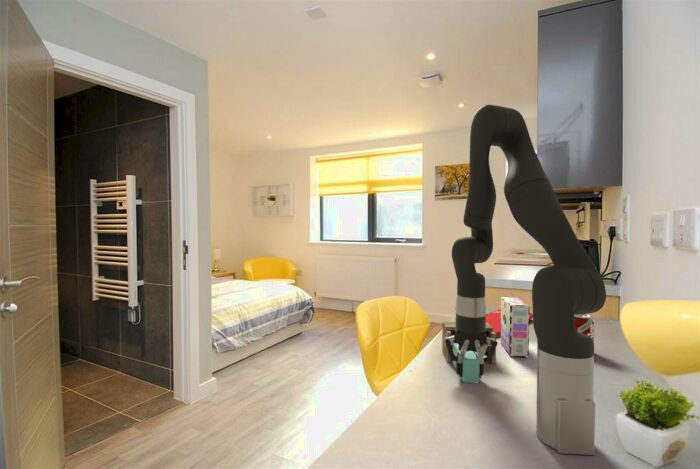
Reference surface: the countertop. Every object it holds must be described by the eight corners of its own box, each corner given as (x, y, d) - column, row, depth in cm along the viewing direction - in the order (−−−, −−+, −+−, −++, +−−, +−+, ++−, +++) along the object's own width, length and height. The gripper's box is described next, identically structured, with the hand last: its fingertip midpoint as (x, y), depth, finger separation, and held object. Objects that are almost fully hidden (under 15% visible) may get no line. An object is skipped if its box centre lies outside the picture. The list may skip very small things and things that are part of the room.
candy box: (529, 358, 110) (530, 305, 109) (509, 357, 111) (509, 304, 110) (517, 344, 123) (518, 296, 123) (499, 342, 124) (500, 296, 124)
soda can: (569, 353, 114) (570, 316, 113) (567, 347, 120) (568, 311, 119) (594, 357, 111) (595, 318, 110) (591, 350, 117) (592, 314, 116)
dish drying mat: (450, 332, 139) (450, 322, 138) (499, 314, 166) (499, 306, 166) (489, 342, 127) (489, 331, 127) (535, 321, 154) (535, 313, 154)
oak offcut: (488, 362, 106) (488, 346, 106) (474, 362, 107) (474, 345, 107) (482, 355, 112) (482, 339, 112) (469, 355, 113) (469, 339, 113)
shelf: (495, 364, 105) (496, 330, 105) (447, 362, 106) (447, 329, 106) (486, 353, 114) (487, 322, 114) (442, 352, 115) (442, 321, 115)
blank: (479, 382, 93) (479, 360, 92) (463, 382, 93) (464, 359, 92) (466, 363, 104) (466, 343, 104) (452, 363, 105) (453, 343, 104)
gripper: (445, 315, 91) (444, 381, 91) (503, 317, 89) (501, 383, 90) (440, 308, 98) (439, 369, 99) (493, 309, 97) (492, 371, 98)
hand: (469, 375), depth 95 cm, fingers closed on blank, 4 cm apart
